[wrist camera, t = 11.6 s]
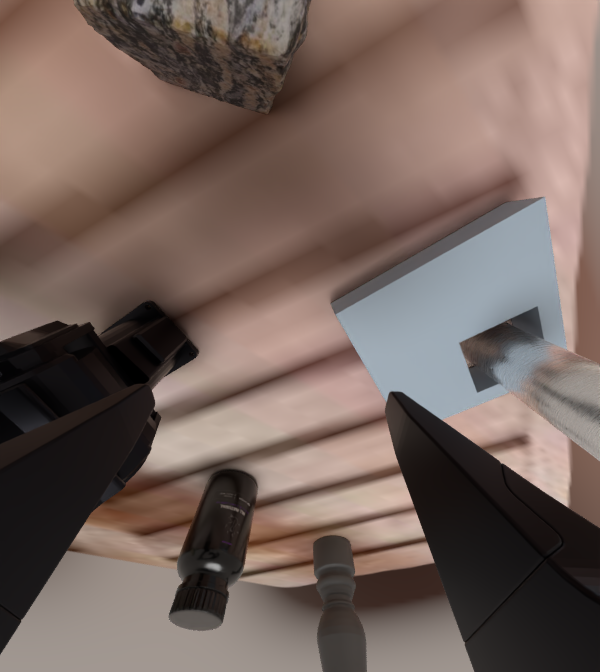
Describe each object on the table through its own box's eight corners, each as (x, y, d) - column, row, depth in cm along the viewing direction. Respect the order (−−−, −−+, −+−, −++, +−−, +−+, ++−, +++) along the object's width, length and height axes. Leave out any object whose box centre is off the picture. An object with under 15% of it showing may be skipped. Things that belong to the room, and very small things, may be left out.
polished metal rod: (477, 364, 23) (663, 503, 11) (445, 345, 22) (610, 475, 10) (513, 329, 22) (773, 449, 10) (480, 308, 21) (722, 410, 9)
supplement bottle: (253, 466, 30) (226, 604, 19) (261, 498, 32) (242, 634, 21) (201, 469, 30) (144, 607, 19) (214, 501, 33) (171, 637, 22)
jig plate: (393, 412, 26) (405, 434, 23) (330, 303, 20) (335, 314, 18) (537, 351, 23) (569, 368, 20) (506, 202, 17) (545, 196, 14)
